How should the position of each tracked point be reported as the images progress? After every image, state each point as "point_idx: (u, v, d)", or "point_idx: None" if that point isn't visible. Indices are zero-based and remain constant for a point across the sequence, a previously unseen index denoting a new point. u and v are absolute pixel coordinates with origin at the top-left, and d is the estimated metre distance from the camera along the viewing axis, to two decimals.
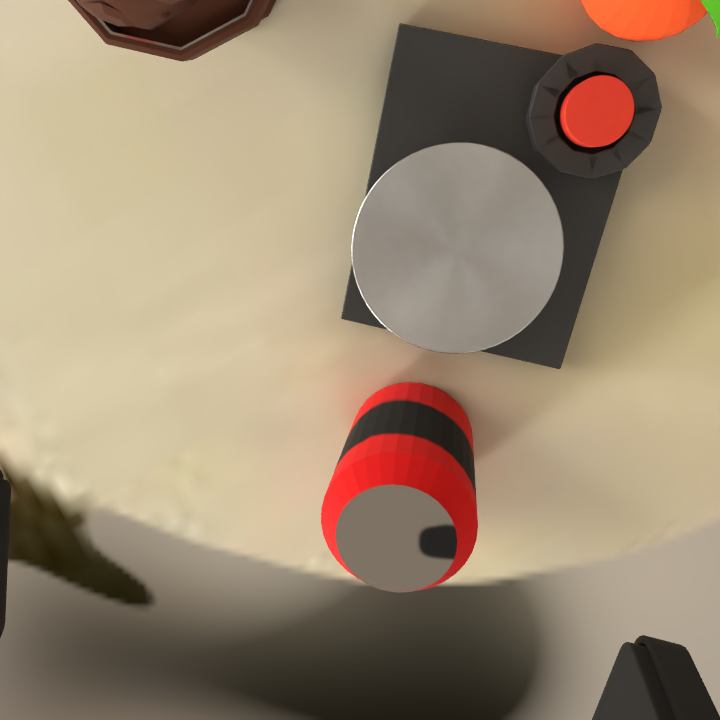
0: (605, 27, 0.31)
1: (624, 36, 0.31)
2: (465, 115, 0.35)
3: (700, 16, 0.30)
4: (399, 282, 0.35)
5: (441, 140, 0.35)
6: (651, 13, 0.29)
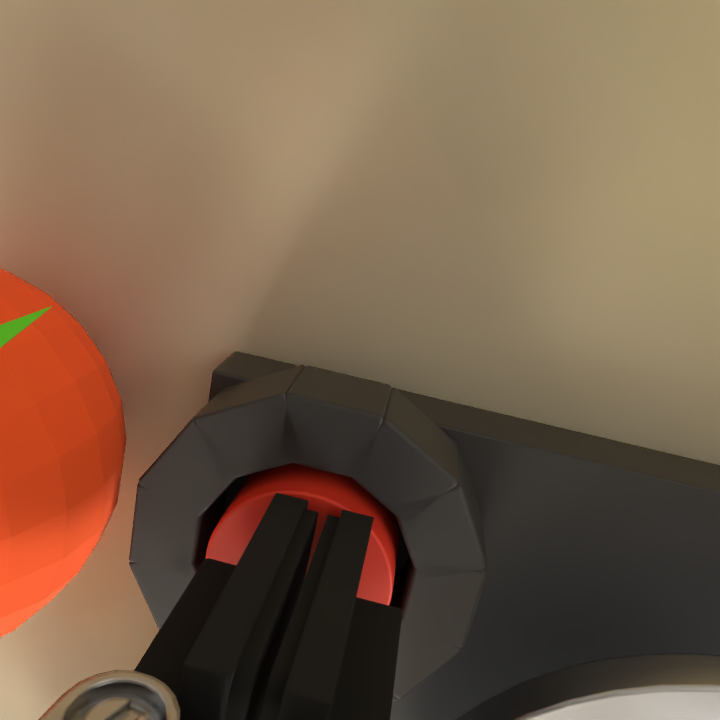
0: (78, 567, 0.11)
1: (94, 524, 0.11)
2: None
3: (0, 362, 0.09)
4: None
5: None
6: None
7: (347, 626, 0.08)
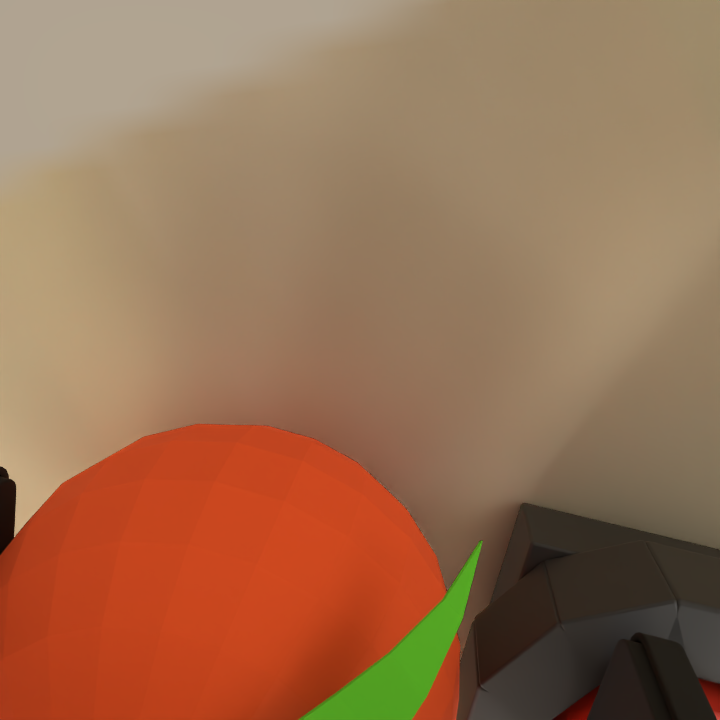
0: None
1: None
2: None
3: (403, 596, 0.08)
4: None
5: None
6: None
7: None
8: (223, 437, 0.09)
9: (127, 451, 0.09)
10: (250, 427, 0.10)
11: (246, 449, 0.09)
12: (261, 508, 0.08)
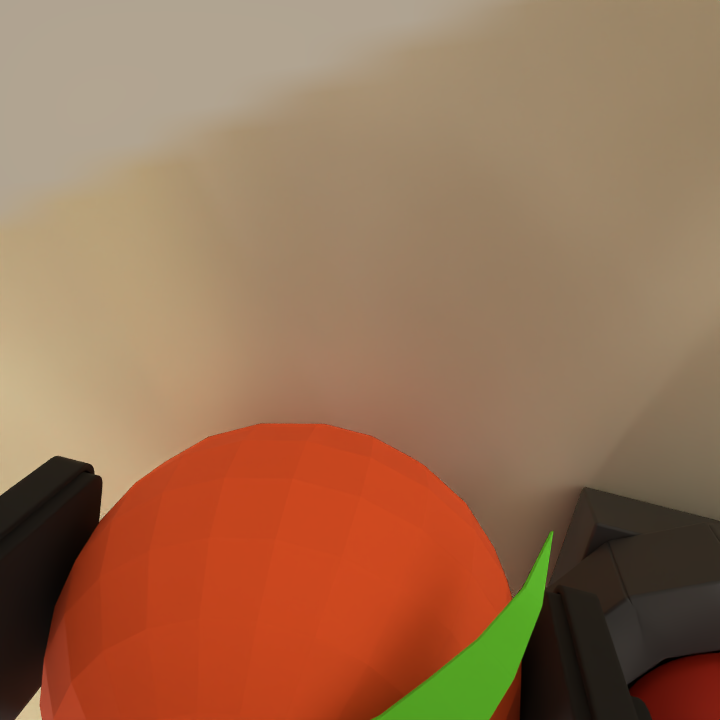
0: None
1: None
2: None
3: (475, 585, 0.08)
4: None
5: None
6: None
7: None
8: (291, 435, 0.09)
9: (199, 451, 0.09)
10: (314, 426, 0.10)
11: (316, 447, 0.09)
12: (338, 504, 0.08)
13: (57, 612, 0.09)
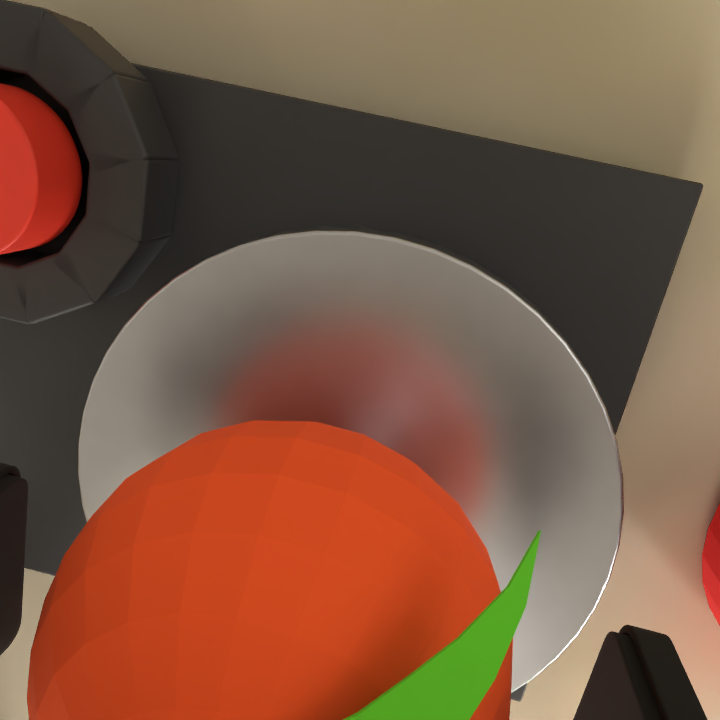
0: None
1: None
2: (76, 431, 0.16)
3: (462, 585, 0.08)
4: None
5: None
6: None
7: None
8: (281, 433, 0.09)
9: (189, 446, 0.09)
10: (305, 423, 0.10)
11: (305, 443, 0.09)
12: (324, 499, 0.08)
13: (45, 605, 0.09)
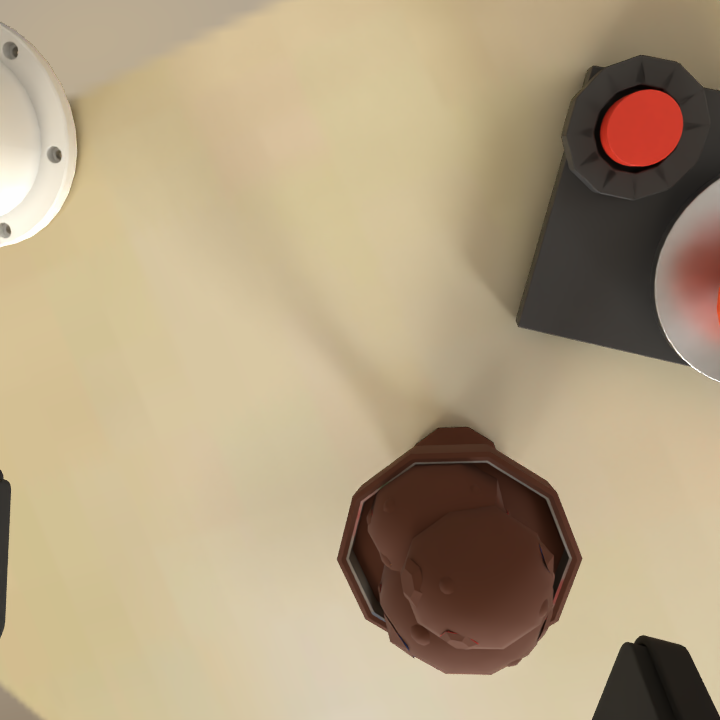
0: None
1: None
2: (613, 261, 0.34)
3: None
4: None
5: (636, 286, 0.34)
6: None
7: None
8: None
9: None
10: None
11: None
12: None
13: None
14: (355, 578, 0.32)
